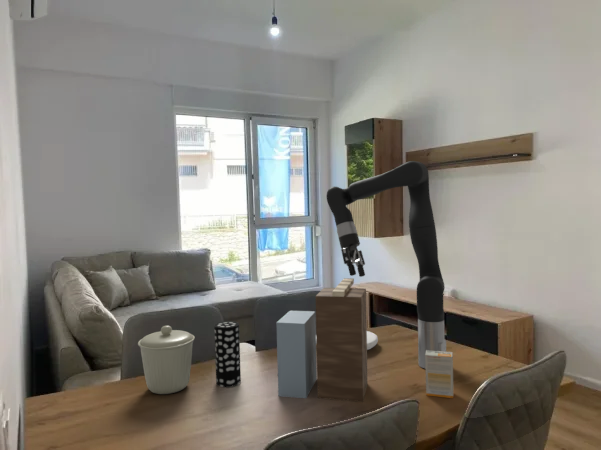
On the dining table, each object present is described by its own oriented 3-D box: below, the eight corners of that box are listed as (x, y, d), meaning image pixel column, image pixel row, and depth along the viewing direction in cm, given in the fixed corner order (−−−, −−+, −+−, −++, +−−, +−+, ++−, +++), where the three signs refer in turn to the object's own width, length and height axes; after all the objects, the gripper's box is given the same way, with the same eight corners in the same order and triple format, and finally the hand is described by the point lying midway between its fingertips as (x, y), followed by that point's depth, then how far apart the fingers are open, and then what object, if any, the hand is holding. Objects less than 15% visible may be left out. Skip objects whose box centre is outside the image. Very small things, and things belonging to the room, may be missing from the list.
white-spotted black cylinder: (245, 379, 157) (243, 322, 156) (231, 388, 150) (230, 328, 149) (225, 376, 161) (223, 320, 160) (211, 385, 153) (209, 326, 152)
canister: (158, 405, 139) (155, 337, 138) (129, 389, 151) (127, 327, 150) (207, 386, 152) (205, 324, 151) (177, 373, 164) (175, 316, 163)
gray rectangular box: (291, 377, 159) (289, 310, 158) (316, 378, 156) (315, 311, 155) (278, 396, 143) (276, 322, 142) (306, 398, 141) (304, 323, 140)
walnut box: (326, 380, 155) (324, 287, 153) (367, 383, 151) (365, 288, 150) (317, 398, 141) (315, 296, 140) (362, 401, 138) (361, 297, 136)
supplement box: (453, 392, 143) (453, 351, 142) (453, 399, 138) (453, 356, 138) (426, 389, 145) (426, 349, 145) (425, 395, 141) (425, 354, 140)
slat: (344, 282, 162) (344, 278, 161) (353, 282, 161) (353, 278, 161) (332, 296, 138) (332, 291, 138) (343, 296, 137) (343, 291, 137)
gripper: (348, 230, 169) (359, 272, 165) (363, 234, 181) (373, 273, 177) (331, 236, 172) (341, 277, 168) (347, 240, 185) (356, 279, 180)
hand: (358, 275), depth 172 cm, fingers open, 8 cm apart
